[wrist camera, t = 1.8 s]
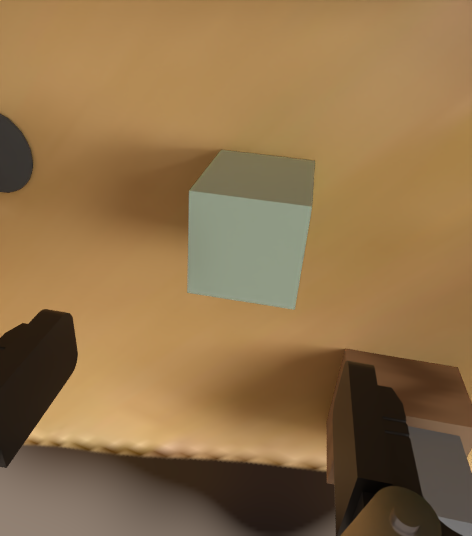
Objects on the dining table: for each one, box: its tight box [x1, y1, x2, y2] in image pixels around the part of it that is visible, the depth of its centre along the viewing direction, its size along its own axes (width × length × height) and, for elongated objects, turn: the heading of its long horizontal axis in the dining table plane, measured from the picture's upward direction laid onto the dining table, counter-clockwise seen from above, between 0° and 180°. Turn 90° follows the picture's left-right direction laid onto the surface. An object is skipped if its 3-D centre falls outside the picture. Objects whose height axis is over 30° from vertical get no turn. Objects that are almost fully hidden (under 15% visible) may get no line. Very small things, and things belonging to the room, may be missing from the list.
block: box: [187, 150, 315, 310], centre depth 22 cm, size 5×5×6 cm
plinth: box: [327, 349, 472, 484], centre depth 28 cm, size 7×7×5 cm
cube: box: [408, 426, 472, 536], centre depth 23 cm, size 6×6×5 cm
